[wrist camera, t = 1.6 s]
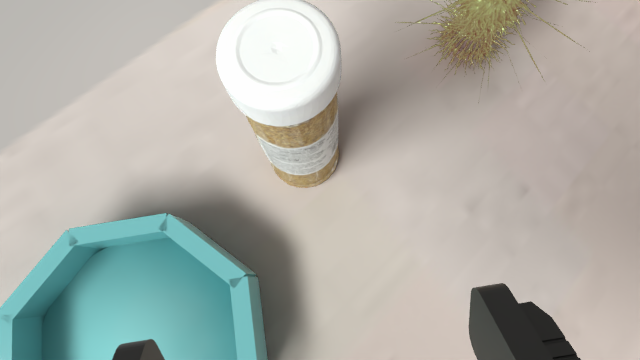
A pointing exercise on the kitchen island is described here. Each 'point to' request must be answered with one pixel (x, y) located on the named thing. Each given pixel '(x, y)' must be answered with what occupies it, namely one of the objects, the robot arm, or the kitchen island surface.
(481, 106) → the kitchen island surface
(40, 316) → the bowl
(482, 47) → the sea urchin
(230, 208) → the kitchen island surface
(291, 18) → the sprinkles bottle
